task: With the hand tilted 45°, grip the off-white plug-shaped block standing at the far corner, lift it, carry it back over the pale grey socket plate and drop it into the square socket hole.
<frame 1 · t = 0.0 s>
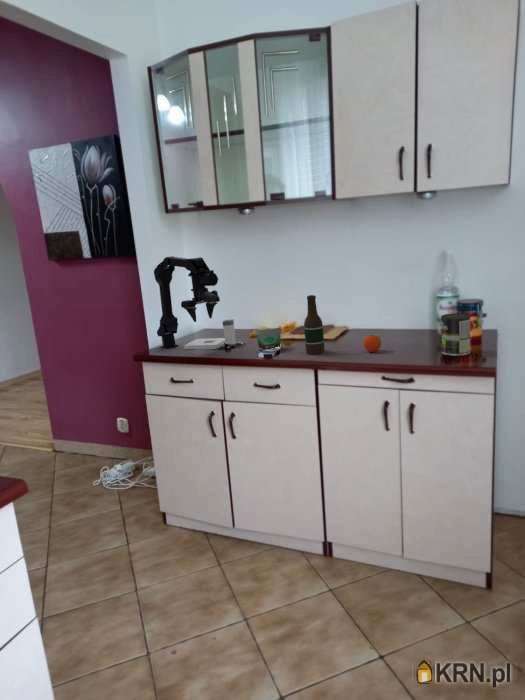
hand: (203, 320, 239), 15 cm above the countertop, tool pointing down, fingers open, 9 cm apart
beer bottle: (315, 353, 219), on the countertop
coffee can: (456, 353, 197), on the countertop
clementine: (373, 351, 211), on the countertop
food container: (271, 351, 230), on the countertop
socket: (209, 345, 254), on the countertop
plug: (230, 345, 251), on the countertop
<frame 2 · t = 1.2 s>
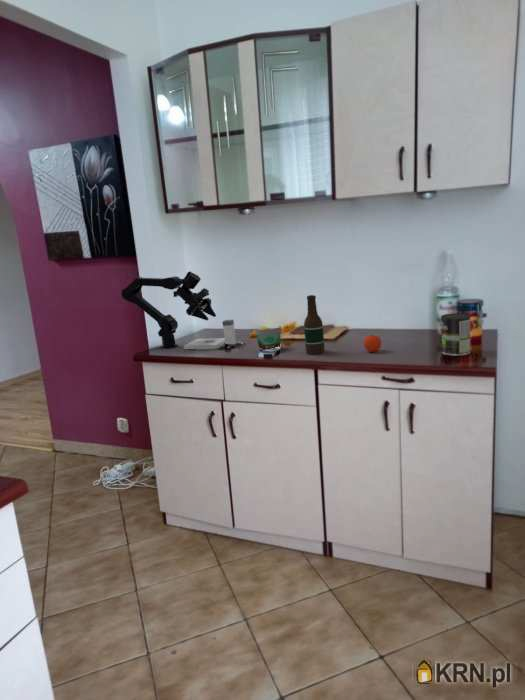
hand: (211, 318, 250), 14 cm above the countertop, tool tilted 45°, fingers open, 9 cm apart
nothing on the countertop moved.
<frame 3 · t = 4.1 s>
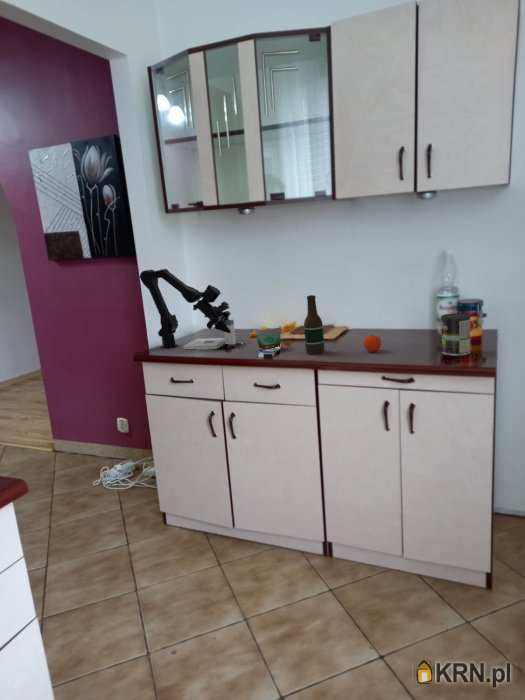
hand: (231, 331, 249), 7 cm above the countertop, tool tilted 45°, fingers closed on plug, 4 cm apart
plug: (230, 345, 251), on the countertop, touching gripper
everything else where it was.
when the fingers open (8 cm above the countertop, at t = 8.0 s): plug drops 2 cm, resting in socket.
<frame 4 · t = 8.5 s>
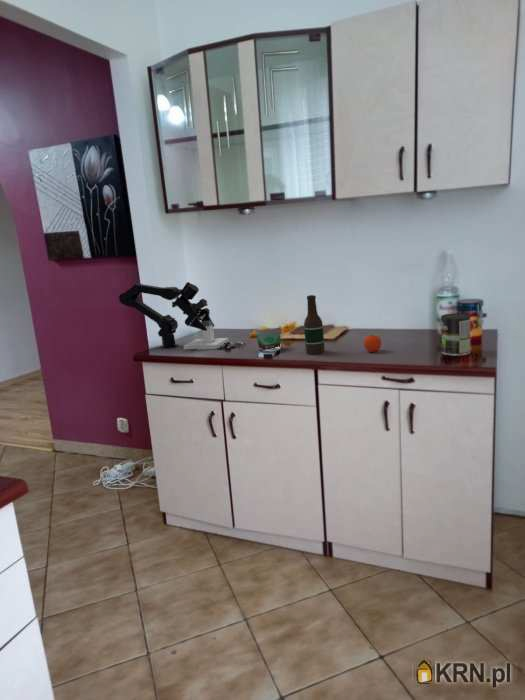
hand: (210, 328, 252), 9 cm above the countertop, tool tilted 45°, fingers open, 9 cm apart
plug: (209, 345, 254), resting in socket
everything else where it was.
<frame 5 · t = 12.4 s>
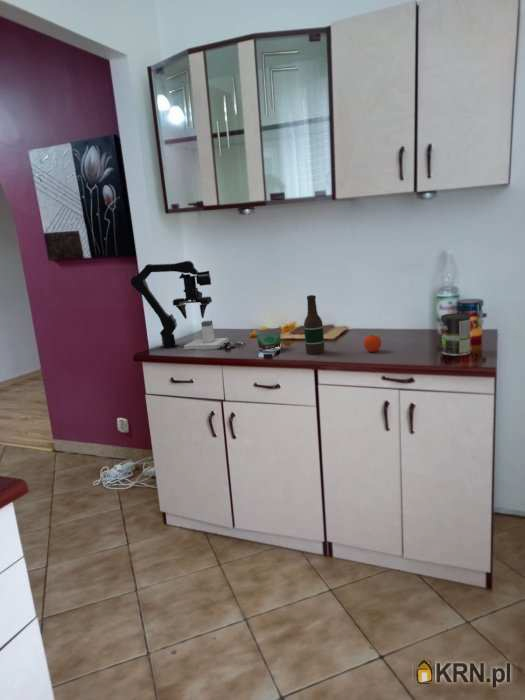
hand: (194, 318, 259), 13 cm above the countertop, tool pointing down, fingers open, 9 cm apart
nothing on the countertop moved.
at the end: plug 0.0 cm off-centre on the socket, point 0.0 cm above the socket's base; plug tilted 0°; the gripper is holding nothing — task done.
